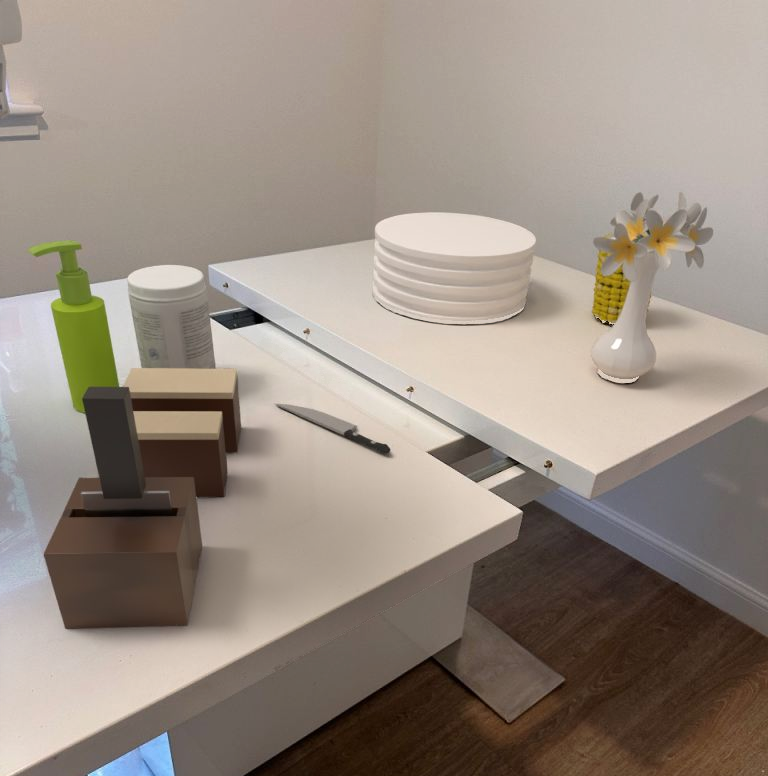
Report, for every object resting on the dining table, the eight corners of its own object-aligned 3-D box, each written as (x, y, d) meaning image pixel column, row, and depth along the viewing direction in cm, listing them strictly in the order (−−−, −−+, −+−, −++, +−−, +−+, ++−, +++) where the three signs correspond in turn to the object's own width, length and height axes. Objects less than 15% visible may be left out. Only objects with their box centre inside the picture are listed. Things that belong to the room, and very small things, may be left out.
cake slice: (107, 498, 75) (93, 432, 71) (116, 474, 79) (104, 410, 74) (224, 497, 76) (217, 432, 72) (227, 473, 80) (222, 411, 75)
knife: (100, 592, 63) (53, 398, 52) (105, 577, 65) (60, 386, 54) (181, 590, 64) (151, 398, 53) (184, 575, 66) (156, 386, 55)
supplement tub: (210, 366, 102) (200, 261, 94) (222, 395, 95) (212, 285, 87) (140, 373, 99) (123, 266, 91) (146, 403, 92) (128, 290, 84)
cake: (131, 453, 82) (120, 391, 78) (141, 427, 87) (131, 367, 83) (237, 453, 84) (232, 392, 79) (241, 427, 89) (236, 368, 84)
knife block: (64, 628, 60) (43, 554, 55) (95, 547, 68) (79, 477, 64) (187, 625, 61) (176, 551, 56) (202, 546, 69) (193, 476, 65)
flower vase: (553, 386, 103) (591, 201, 88) (598, 347, 115) (638, 179, 101) (642, 414, 97) (698, 220, 82) (679, 369, 110) (734, 195, 95)
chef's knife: (289, 399, 96) (273, 405, 94) (290, 391, 95) (273, 397, 93) (402, 449, 86) (386, 457, 84) (403, 440, 86) (387, 448, 84)
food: (646, 339, 123) (586, 335, 125) (642, 302, 131) (586, 299, 133) (668, 257, 112) (602, 253, 114) (663, 221, 120) (601, 219, 121)
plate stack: (410, 264, 147) (414, 205, 140) (543, 290, 137) (554, 227, 131) (345, 304, 126) (346, 236, 119) (496, 337, 117) (507, 266, 110)
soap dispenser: (58, 402, 91) (19, 240, 80) (110, 388, 95) (81, 232, 84) (75, 420, 88) (38, 254, 76) (129, 405, 92) (101, 245, 80)
